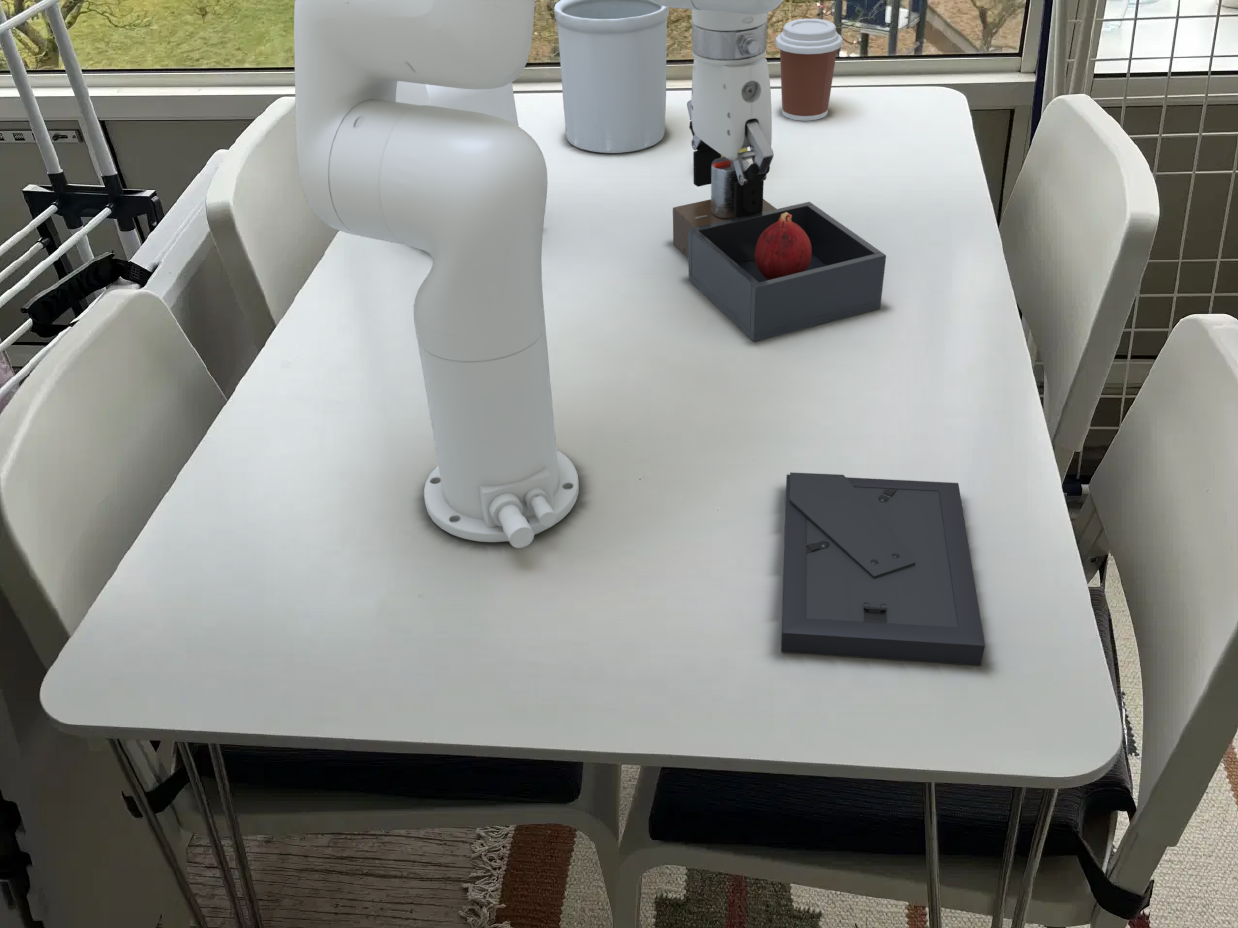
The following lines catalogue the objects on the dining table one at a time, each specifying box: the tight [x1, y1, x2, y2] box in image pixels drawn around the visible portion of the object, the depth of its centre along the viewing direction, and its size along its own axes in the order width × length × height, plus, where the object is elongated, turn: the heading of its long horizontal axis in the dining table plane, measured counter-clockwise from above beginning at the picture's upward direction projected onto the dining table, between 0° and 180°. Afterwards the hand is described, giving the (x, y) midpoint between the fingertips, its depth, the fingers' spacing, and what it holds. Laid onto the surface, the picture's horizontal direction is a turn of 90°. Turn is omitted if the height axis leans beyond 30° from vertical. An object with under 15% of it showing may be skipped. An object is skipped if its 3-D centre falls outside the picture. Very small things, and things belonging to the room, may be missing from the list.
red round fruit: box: [754, 212, 812, 280], centre depth 116 cm, size 6×6×8 cm
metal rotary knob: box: [710, 157, 750, 219], centre depth 123 cm, size 4×4×6 cm
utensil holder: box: [553, 0, 670, 154], centre depth 152 cm, size 15×15×18 cm
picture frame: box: [780, 471, 986, 666], centre depth 83 cm, size 13×2×18 cm
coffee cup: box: [774, 18, 844, 122], centre depth 158 cm, size 9×9×12 cm
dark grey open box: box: [688, 201, 887, 343], centre depth 117 cm, size 15×15×6 cm
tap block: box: [672, 198, 777, 259], centre depth 126 cm, size 8×10×5 cm
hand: (727, 199), depth 125 cm, fingers open, 9 cm apart
